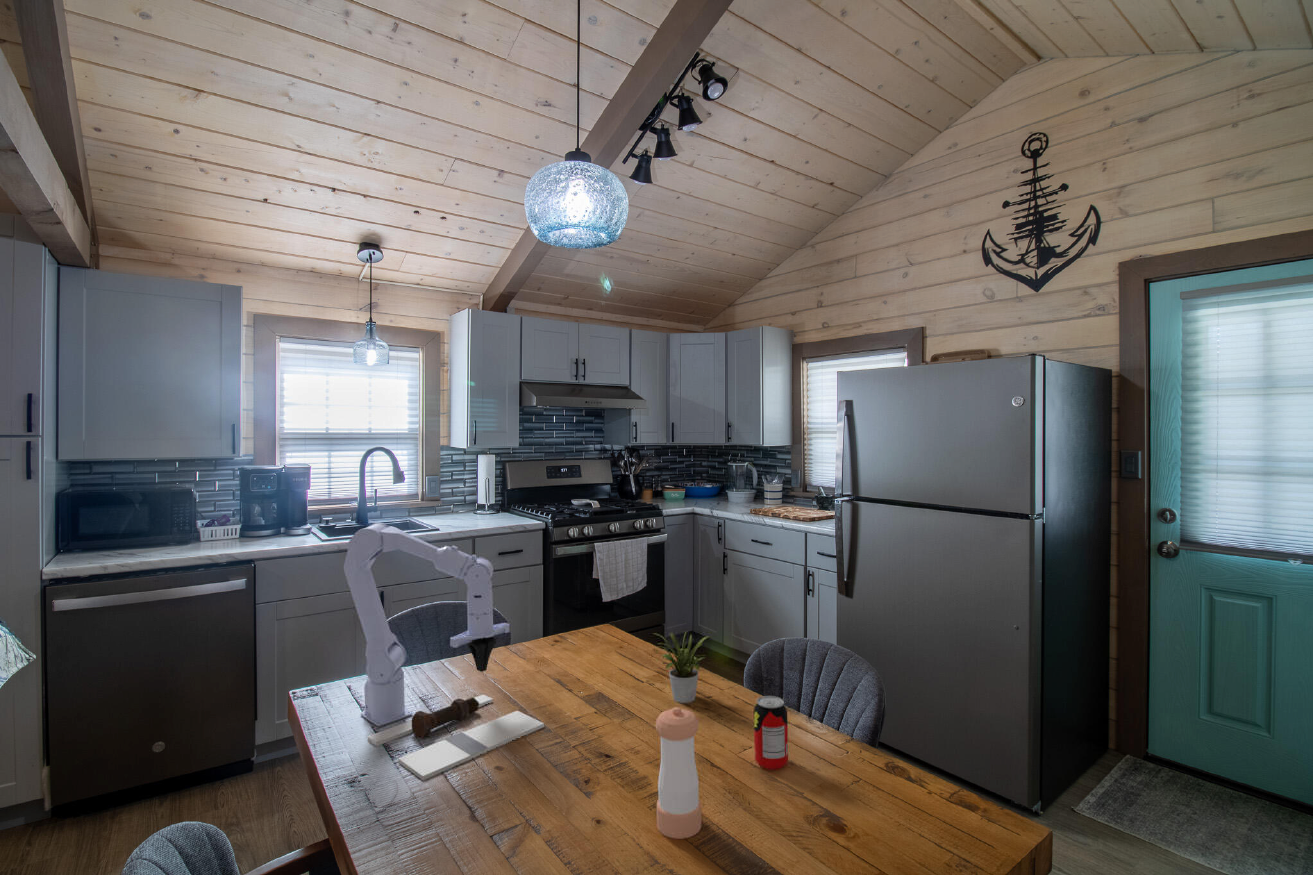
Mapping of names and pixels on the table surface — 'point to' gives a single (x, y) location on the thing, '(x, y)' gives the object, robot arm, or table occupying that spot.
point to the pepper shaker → (678, 775)
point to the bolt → (442, 716)
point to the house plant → (683, 670)
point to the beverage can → (770, 732)
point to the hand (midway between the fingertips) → (481, 669)
